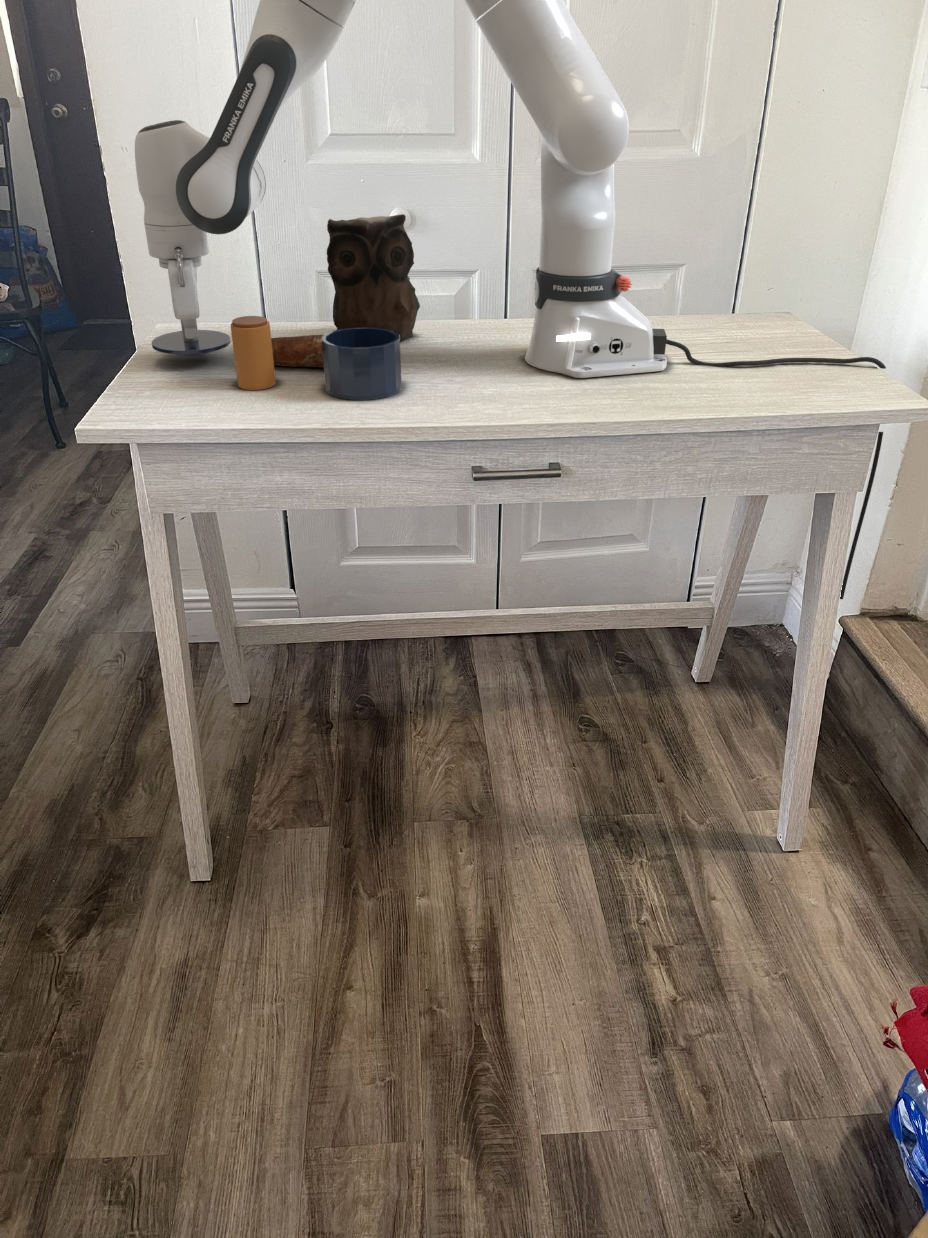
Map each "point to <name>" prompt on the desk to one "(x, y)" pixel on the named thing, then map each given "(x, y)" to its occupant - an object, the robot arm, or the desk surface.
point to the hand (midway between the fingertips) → (191, 334)
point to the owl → (372, 274)
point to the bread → (298, 351)
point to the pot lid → (191, 342)
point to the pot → (362, 363)
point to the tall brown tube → (253, 352)
